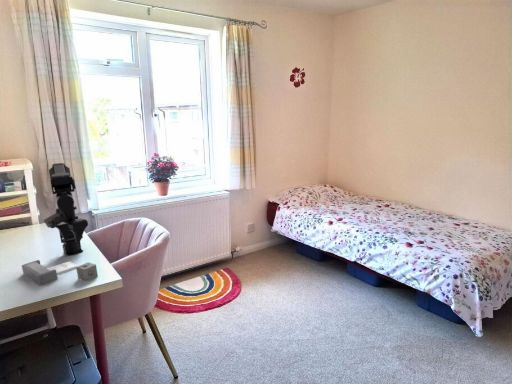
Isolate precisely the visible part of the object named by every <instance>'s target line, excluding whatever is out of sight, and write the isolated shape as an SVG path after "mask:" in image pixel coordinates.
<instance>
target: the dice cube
mask: <svg viewBox="0 0 512 384" xmlns="http://www.w3.org/2000/svg"><path fill="white" fill-rule="evenodd" d="M76 274H77V279H78V280H80V281H83V282H89V281H90V280H92V279H95V278H97V277H98V276H99V275H98V269H97V264H96V263H91V262H89V261H88V262H86V263H83V264H80V265H77V267H76Z"/></svg>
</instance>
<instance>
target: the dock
mask: <svg viewBox="0 0 512 384" xmlns="http://www.w3.org/2000/svg"><path fill="white" fill-rule="evenodd" d="M21 269H22V273H23V275H24V276H25V277H27V278H28V279H30V280H31V281H32V282H33V283H35V284H36V285H38V286H40V287H41V286H43V285H46V284H50V283H53V282H55V281H58V275H57V273H56V270H55V269H54V270H51V271H50V270H48V269H47V267H45V266H43V265H41V261H40V259H37V260H34V261H31V262H28V263H24V264H22V265H21Z"/></svg>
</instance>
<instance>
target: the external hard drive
mask: <svg viewBox="0 0 512 384" xmlns="http://www.w3.org/2000/svg"><path fill="white" fill-rule="evenodd" d="M76 267H78V265H77V264H76V263H73V262H72V261H65V262H63V263H60V264H56V265H54V266H51V267H48V268H47V267H46V268H47V269H48V270H50V271H51V270H54V269H55V270H56V273H57V276H58V275H62V274H64V273H67V272H70V271H72V270H75V269H76ZM76 270H77V269H76Z"/></svg>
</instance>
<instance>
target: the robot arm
mask: <svg viewBox="0 0 512 384" xmlns="http://www.w3.org/2000/svg"><path fill="white" fill-rule="evenodd" d="M70 169H71V168H70V167H68V166H66V163H65V162H58V163H53V164H51V167H50V168H49V169H48V174H49V180H50V186H51V193H52V195H55V198H56V206H57V208H55V213H54V214H51V215H50V216H49V217H47V218H45V219H44V220H43V222H44V224H45V225H46V227H47V228H50V229H57V230H58V231H59V238H60V243H61V244H62V251H63V254H65V255H67V256H69V257H70V256H73V255H76V254H79V253H82V252H84V249H82V245H81V240H82V239H83V238H84V237H83V235H84V232H85V230H86V228H88V227H89V221H88V220H87V219H86V218H79V216H77V215H76V210H77V209H78V208H77V206H75V199H74V197H73V192H75V190H76V188H77V187H76V183H75V178H73V176H72V174H71V170H70Z"/></svg>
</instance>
